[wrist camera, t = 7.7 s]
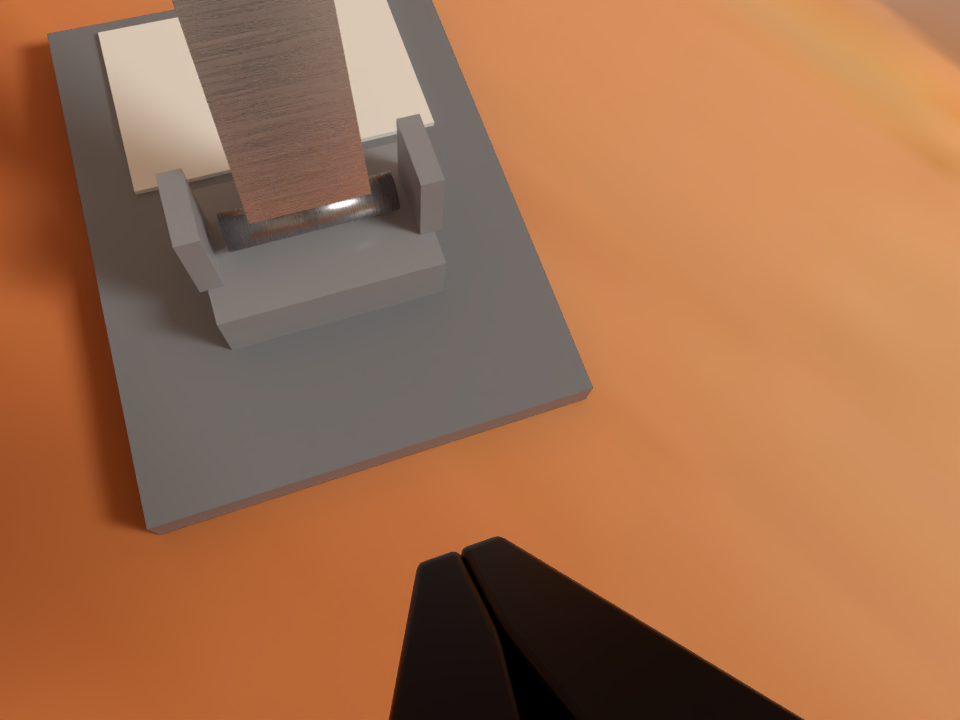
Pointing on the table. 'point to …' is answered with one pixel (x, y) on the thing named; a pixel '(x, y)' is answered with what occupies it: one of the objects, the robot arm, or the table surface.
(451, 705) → the robot arm
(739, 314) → the table surface
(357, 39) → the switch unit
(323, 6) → the lever
